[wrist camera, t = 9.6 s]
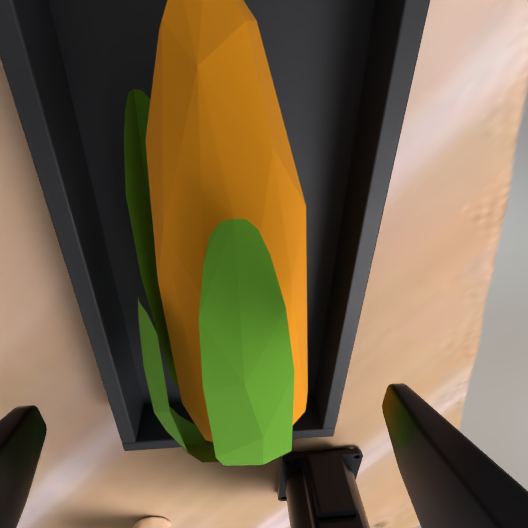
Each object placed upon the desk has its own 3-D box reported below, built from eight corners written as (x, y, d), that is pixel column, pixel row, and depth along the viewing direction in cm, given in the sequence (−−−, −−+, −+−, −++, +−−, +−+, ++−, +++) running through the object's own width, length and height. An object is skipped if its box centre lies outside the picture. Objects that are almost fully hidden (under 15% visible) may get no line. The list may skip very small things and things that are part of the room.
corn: (169, 537, 15) (-117, -122, 5) (177, 393, 21) (67, -19, 11) (332, 503, 16) (410, -118, 5) (293, 374, 22) (294, -25, 12)
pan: (322, 395, 24) (333, 436, 21) (135, 407, 23) (124, 451, 20) (409, -101, 11) (463, -147, 9) (-4, -134, 10) (-82, -197, 7)
